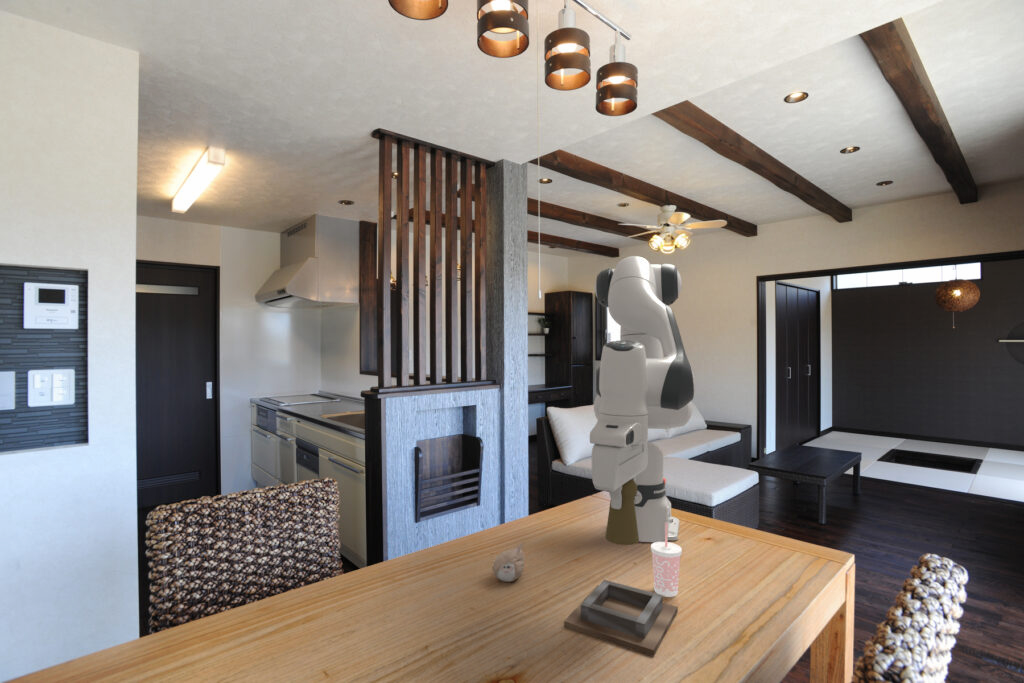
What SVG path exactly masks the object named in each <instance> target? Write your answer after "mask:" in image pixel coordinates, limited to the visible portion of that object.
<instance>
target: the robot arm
mask: <svg viewBox="0 0 1024 683" xmlns="http://www.w3.org/2000/svg"><path fill="white" fill-rule="evenodd" d="M682 285H683V280H682V276H681V274H680V272H679V271H678V268H677V266H676V265H674V264H672V263H661V264H654V263H652V264H651V263H650V262H649V261H648V260H647V259H646V258H644V257H641V256H638V255H631V256H627V257H625V258H623V259H621V260H620V261H619V262H618V263H617V265H616V266H615V268H612V267H611V268H607V269H603V270H601V271H600V272H599V273H598V274H597V275H596V280H595V282H594V294H595V297H596V299H597V301H598V303H599V304H600V305H601V306H602V307H605V308H608V313H609V315H610V316H611V319H613V321H614V322H615V323H616V324H618V325H619V326H620V336H619V337H620V340H614V341H613V340H612V341H608V342H606V343H605V344H604V345H603V347H602V352H601V357H600V365H599V366H598V367H597V369H596V370H595V372H596V373H595V393H596V394H597V395H596V396H595V399H594V402H593V412H594V416H595V418H596V419H597V422H596V424H595V425H594V426H593V428H592V429H591V430H590V432H589V443H590V444H593V446H592V450H591V477H592V478H591V479H592V483H593V487H594V489H595V490H597V491H603V492H608V494H609V497H610V501H611V507H612V508H614V509H620V508H622V507H623V498H622V495H621V490H622V485H624V484H625V483H626V482H628V481H629V480H631V479H632V480H633V481H634V482H635V483H636V485H637V493H636V496H635V497H634V503H635V511H636V519H637V527H638V535H639V542H640V543H641V542H642V543H654V542H665V522H667V523H668V537H667V541H677V540H678V539H679V530H680V519H679V518H677V517H675V516H672V502H671V501H670V500H669V498H668V497H667V495H666V494H667V491H666V484H667V480H666V478H665V477H664V454H663V451H662V450H661V449H660V447H659V446H657V445H656V444H654V443H653V442H650V441H649V440H648V438H649V433H648V431H649V429H656V430H657V429H659V430H664V429H665V430H668V429H669V430H670V429H674V428H675V429H676V428H680V427H684V426H686V425H687V424H688V422H690V419H691V417H692V413H693V405H692V401H693V400H694V396H695V392H696V378H695V374H694V372H693V369H692V366H691V363H690V362H689V358H688V357H687V354H686V349H685V346H684V342H683V340H682V339H683V338H682V336H681V333H680V329H679V325H678V322H677V319H676V316H675V314H674V311H673V309H672V308H671V305H673V304H674V303H675V302H676V301H677V300H678V299H679V295H680V293H681V290H682Z"/></svg>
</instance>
